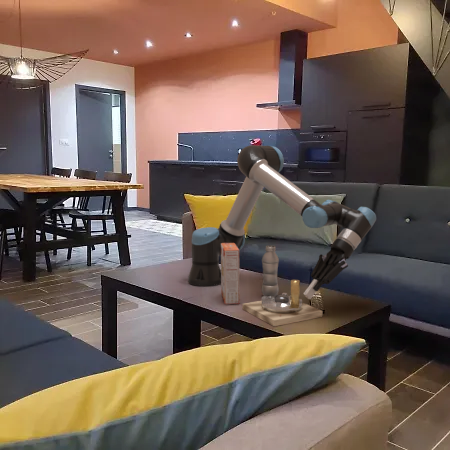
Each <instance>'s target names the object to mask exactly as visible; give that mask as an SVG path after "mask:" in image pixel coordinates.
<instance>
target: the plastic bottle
mask: <svg viewBox="0 0 450 450" xmlns="http://www.w3.org/2000/svg"><path fill="white" fill-rule="evenodd" d="M278 256H279V255H277V253H276V245H271V244H270V245H269V244H268V245H265V253H264V254H263V255H262V257H261V258H262V259H261V263H262V273H263V274H262V284H261V285H262V286H261V293H262V296H274V295H279V290H280V289H279V284H278V267H279V262H280V260H279V257H278Z"/></svg>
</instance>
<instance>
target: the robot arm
mask: <svg viewBox="0 0 450 450" xmlns="http://www.w3.org/2000/svg"><path fill="white" fill-rule="evenodd" d="M236 161H237V167H238V168H239V171H240V172H241V173H242V174H243V175H244V176H245V178H244V181H243V182H242V185H241V188H240V189H239V191H238V194H237V196H236V198H235V200H234V202H233V204H232V207H231V209H230V211H229V213H228V215H227V217H226V218H225V219H224V220H222V221H221V222H220V224H219V226H218V227H211V226H210V227H209V226H208V227H201V228H198V229H195V230H193V232H192V234H191V267H190V270H189V274H188V278H187V279H188V281H187V283H188V282H189V283H190V285H192V286H196V287H214V286H218V285H221V266H220V263H219V261H220V260H219V259H220V257H221V243H235V244H236V246H237V247H238V249H239V251H241V250H242V249H243V247H244V245H245V243H246V238H245V237H246V235H245V233H246V232H245V229H244V228H245V226H246V224H247V221H248V219H250V218H249V217H250V215H251V213H252V212H253V209H254V208H255V205H256V203H257V201H258V199H259V198H260V195H261V194H262V191H263V189H264V188H265V189H266V190H267V191H268V192H270V193H271V194H273V196H275V197H277V198H278V199H279V200H280V201H281V202H283V203H284V204H285V205H287V206H288V207H289V208H290V209H291V210H293V211H294V212H295V213H297V214H298V215H299V216H301V218H302V221H303V223H304V225H305V226H306V227H307V228H309V229H318V228H319V229H320V228H322V227H327V226H333V225H336V226H338V227H341V228H343V229H342V230H341V232H340V233H339V234H338V235H337V236H336V237H337V238H335V240H333V242H332V244H331V245H330V250H329V251H328V252H326V253H325V255H323V254H319V256H318V260H317V262H316V265H315V266H314V268H313V270H312V271H311V274H310V277H311V278H312V280H311V281H310V283H309V284H308V285H307V286H308V287H307V288H306V289H305V291H304V292H303V296H305V297H306V299H308V300H311V299H312V298H313V297H314V295H315V293H316V292H318V291H319V290H320V289H321V287H322V286H323V285H329V284H330V283H331V282H333V280H334V279H335V278H336V277H337V276H338V275H339V274H340V273H342V271H343V270H345V269H347V268H348V267H349V265H348V263H347V262H346V261H347V260H349V259H350V257H351V256H352V255H353V253H354V251H355V250H356V249H357V248H358V246H359V244H361V242H362V241H363V239H364V238H365V237H366V235H367V234H368V233H369V231H370V230H371V229H372V227H373V226H374V224H375V222H376V221H377V214H376V213H375V212H374V211H373V210H372V209H370V208H369V207H367V206H360V207H358V209H357V210H355V209H354V208H350V207H348V206H346V205H343V204H341V203H339V202H337V201H336V200H335V201H334V200H331V199H326V200H325V201H323V202H322V204H321V203H320V202H318V201H317V200H316V199H314V198H313V197H312V196H311V195H309V194H308V193H306V192H305V191H304V190H303V189H301V188H299V187H298V186H297V185H296V184H294V183H293V182H292V181H290V180H289V179H287V178H286V177H285V176H284V175H282V174H281V173H280V172H281V171H282V170H283V167H284V164H285V158H284V155H283V153H282V151H281V150H280V149H279V148H278V147H276V146H273V145H254V144H253V145H250V144H249V145H246V146H245V147H244V148H242V149H241V150H240V152H239V153H238V155H237V159H236Z"/></svg>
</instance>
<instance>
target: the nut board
mask: <svg viewBox="0 0 450 450" xmlns="http://www.w3.org/2000/svg"><path fill="white" fill-rule="evenodd" d="M242 310H243V311H245V312H247V313H249V314H250V315H252V316H254V317H256V318H258V319H260V320H262V321H263V322H265V323H267V324H269V325H271V326H273V327H277V326H283V325H289V324H293V323H298V322H303V321H308V320H313V319H316V318H322V317H323V312H324V311H323V310H321V309H318V308H317V307H314V306H311V305H310V304H307V303H305V302H302V309H301V310H299V311H297V312H292V313H276V312H271V311H267V310H265V309H263V308H262V300H257V301H251V302H247V303H245V302H244V303H242Z"/></svg>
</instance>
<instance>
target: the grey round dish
mask: <svg viewBox="0 0 450 450" xmlns="http://www.w3.org/2000/svg"><path fill="white" fill-rule="evenodd" d="M300 289H301V280H299V279H291V280H290V295H288V293H287V292H282V293H281V294H277V295H274V296H264V295H262V296H261V301H262V308H263V309H265V310H267V311H271V312H276V313H292V312H297V311H299V310H301V309H302V303H303V299H302V298H300V295H301V294H300V291H301V290H300Z"/></svg>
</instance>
